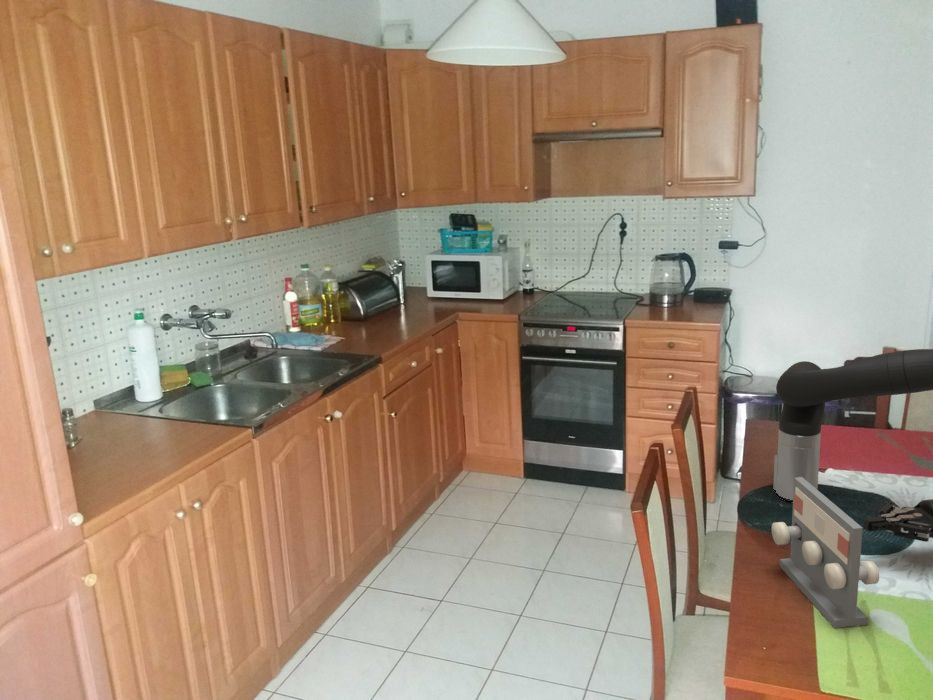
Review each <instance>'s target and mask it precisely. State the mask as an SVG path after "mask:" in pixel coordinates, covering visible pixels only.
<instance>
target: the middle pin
mask: <svg viewBox="0 0 933 700" xmlns="http://www.w3.org/2000/svg"><path fill="white" fill-rule="evenodd" d="M802 552H803V557H804V559H805V561H806V563H807V564H808V565H819V564H821V562H822V559H823V548H822V547H820V546H819V544H818V543H817V542H816V541H805V542H804V543H803V545H802Z"/></svg>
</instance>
